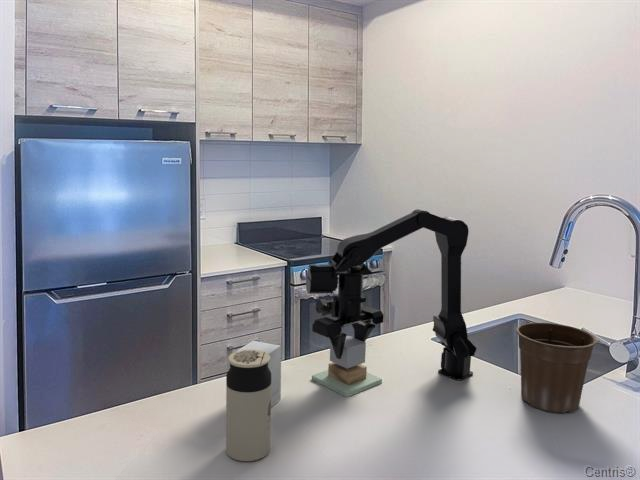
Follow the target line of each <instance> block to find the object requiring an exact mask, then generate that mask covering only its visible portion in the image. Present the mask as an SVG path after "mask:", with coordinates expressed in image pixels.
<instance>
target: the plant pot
mask: <svg viewBox="0 0 640 480" xmlns="http://www.w3.org/2000/svg"><path fill="white" fill-rule="evenodd" d="M516 333H517V335H518V348H519V349H520V353H519V354H520V356H519V357H520V388H521V389H520V393H521V394H520V396H521V399H522V400H523V401H524V402H527V403H528V404H529V406H530V407H533V408H536V409H538V410H540V411H543V412H549V413H556V414H564V413H566V412H570V413H574V412H576V411H577V410H578V409H579V407H580V404H581V398H582V394H583V393H582V392H583V388H584V383H585V379H586V374H587V369H588V365H589V361H590V360H591V358H592V354H593V350H594V346H595V345H596V344H597V342H598V341H597V338H596V337H595V336H594V335H593V334H592V333H590V332H588V331H586V330H583V329H581V328H577V327H574V326H569V325H565V324H559V323H555V322H554V323H553V322H527V323H523V324H520V325H518V326H517V327H516Z"/></svg>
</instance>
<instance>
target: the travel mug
mask: <svg viewBox="0 0 640 480" xmlns="http://www.w3.org/2000/svg"><path fill="white" fill-rule="evenodd" d="M236 351H237V350H236ZM236 351H234V352H232V353H230V354H229V355H228V357H227V362H228V363H229V369H228V370H227V373H226V380H225V381H226V384H225V386H226V392H225V393H226V394H225V395H226V397H225V398H226V400H225V401H226V402H225V405H226V407H225V409H226V410H225V411H226V412H225V413H226V416H225V417H226V420H225V422H226V425H225V426H226V428H225V431H226V432H225V433H226V435H225V436H226V439H225V440H226V441H225V443H226V449H225V451H226V453H227V455H228V456H229V458H230V459H231V458H232V459H234V460H237V461H240V462H252V461H258V460H260V459H262V458H264V457H266V456H267V455H268V454H269V453H270V450H271V435H272V434H271V432H272V431H271V430H272V429H271V427H272V425H271V423H272V422H271V421H272V418H271V417H272V407H271V372H270V370H269V368H268V362H269V361H270V356H269V354H268V353H266V352H264V351H260V350H240V351H237V352H236Z"/></svg>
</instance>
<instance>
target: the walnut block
mask: <svg viewBox="0 0 640 480" xmlns="http://www.w3.org/2000/svg"><path fill="white" fill-rule="evenodd" d="M327 367H328V368H327V370H328V376H330V377H332V378H334V379H336V380H338V381H340V382H342V383H345V384H347V385H351V384H353V383H356V382H359V381H361V380H364V379H366V372H367V370H368V369H367V366H365V365H364V364H359V365H356V366H353V367H350V368H345V367H342V366H340V365H338V364H336V363H334V362H332V361H331V362H330V363H328V366H327Z"/></svg>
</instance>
